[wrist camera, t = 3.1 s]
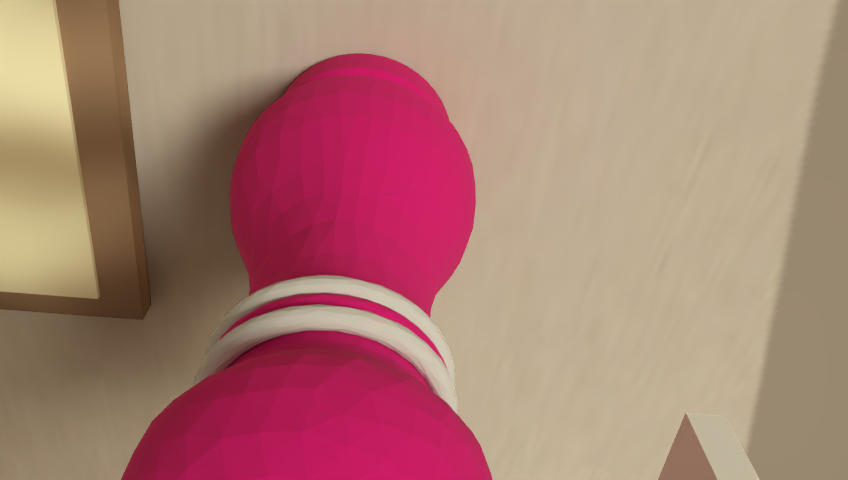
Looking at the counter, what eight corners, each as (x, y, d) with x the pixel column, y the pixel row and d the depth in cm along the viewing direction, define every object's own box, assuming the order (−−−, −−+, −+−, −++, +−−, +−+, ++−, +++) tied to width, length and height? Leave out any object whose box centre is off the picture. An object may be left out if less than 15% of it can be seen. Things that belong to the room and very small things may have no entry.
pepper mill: (505, 151, 25) (721, 868, 8) (356, 260, 27) (273, 1005, 10) (370, -11, 22) (248, 579, 5) (216, 128, 24) (-235, 861, 7)
